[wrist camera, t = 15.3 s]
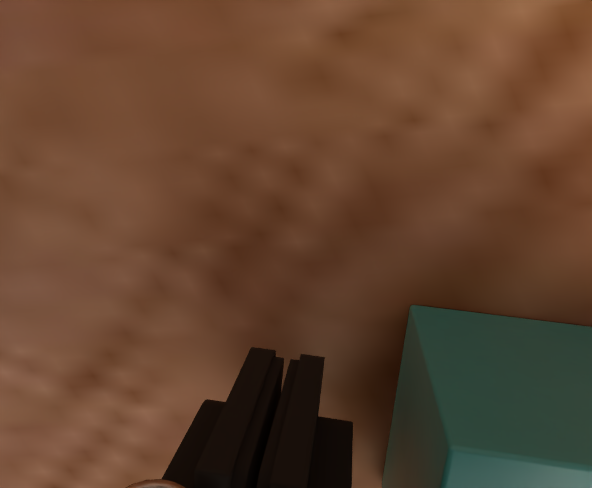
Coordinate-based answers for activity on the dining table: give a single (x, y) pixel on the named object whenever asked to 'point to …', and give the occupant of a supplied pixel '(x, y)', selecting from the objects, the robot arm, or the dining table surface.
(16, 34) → the dining table surface
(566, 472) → the teal block
